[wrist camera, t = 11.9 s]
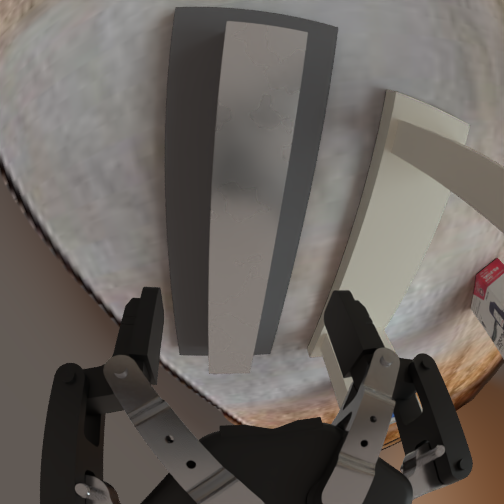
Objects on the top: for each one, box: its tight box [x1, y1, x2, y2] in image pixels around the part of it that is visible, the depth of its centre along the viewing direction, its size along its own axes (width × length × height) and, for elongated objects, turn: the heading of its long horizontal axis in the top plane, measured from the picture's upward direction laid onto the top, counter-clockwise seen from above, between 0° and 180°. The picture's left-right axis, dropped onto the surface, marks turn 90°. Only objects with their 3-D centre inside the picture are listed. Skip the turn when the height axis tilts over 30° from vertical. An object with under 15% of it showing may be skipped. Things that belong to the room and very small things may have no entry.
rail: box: [208, 21, 308, 374], centre depth 17 cm, size 25×4×3 cm, turn 174°
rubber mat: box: [165, 7, 338, 356], centre depth 19 cm, size 28×9×1 cm, turn 174°
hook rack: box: [307, 90, 504, 411], centre depth 17 cm, size 26×8×12 cm, turn 174°
